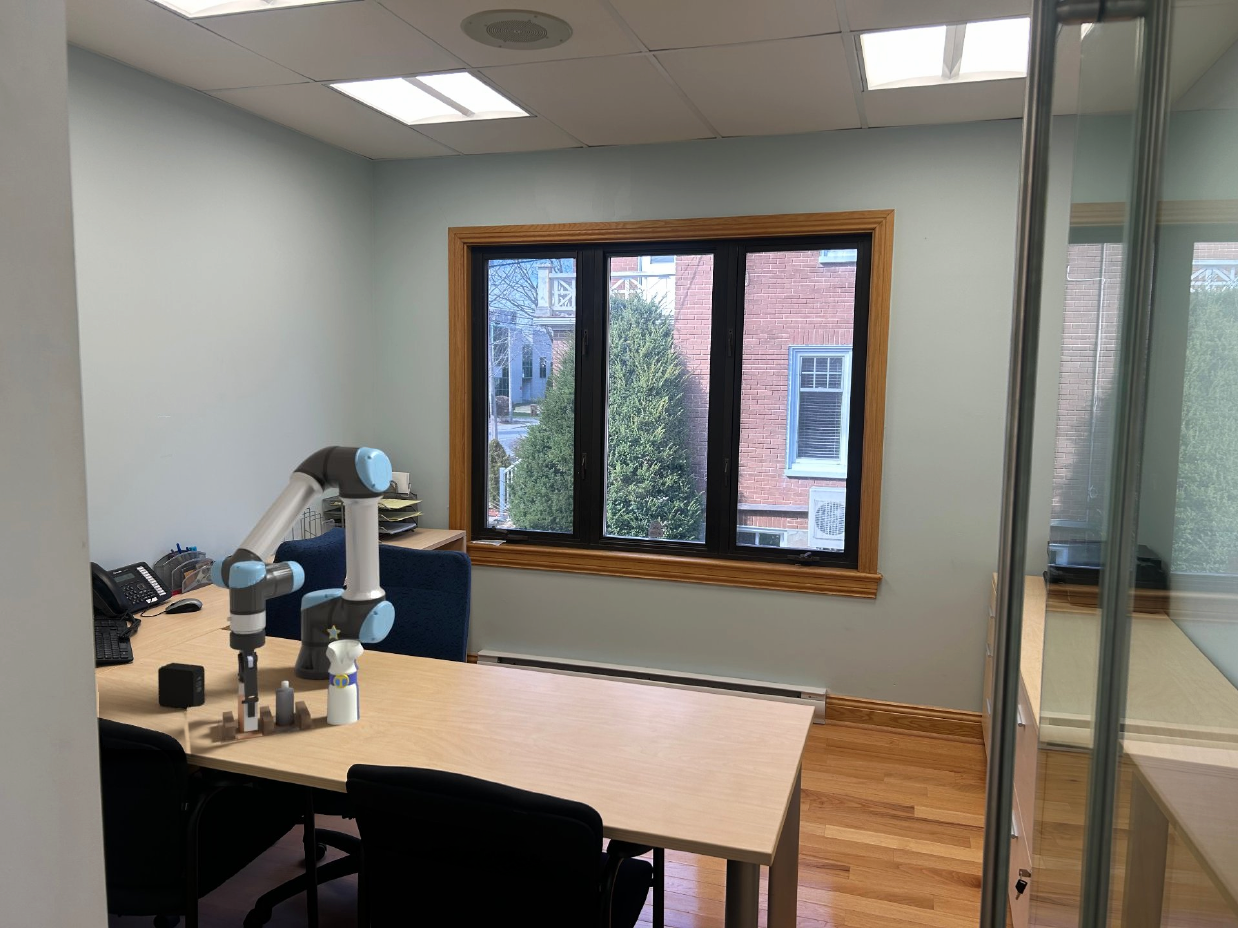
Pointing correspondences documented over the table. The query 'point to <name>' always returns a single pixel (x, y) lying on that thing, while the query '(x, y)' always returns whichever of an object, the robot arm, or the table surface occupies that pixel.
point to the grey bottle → (284, 705)
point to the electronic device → (181, 685)
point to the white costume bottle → (343, 680)
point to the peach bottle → (241, 713)
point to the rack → (265, 724)
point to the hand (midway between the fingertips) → (247, 719)
